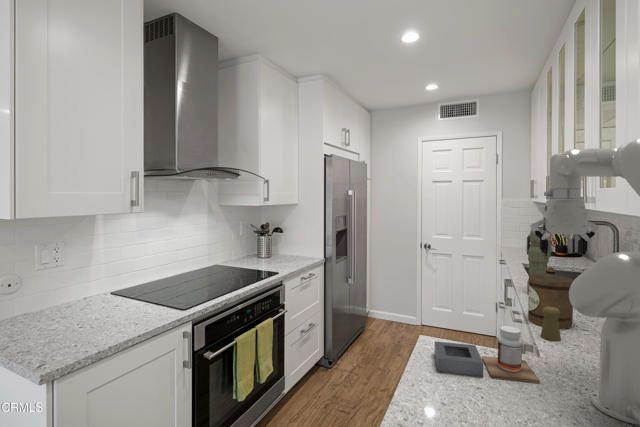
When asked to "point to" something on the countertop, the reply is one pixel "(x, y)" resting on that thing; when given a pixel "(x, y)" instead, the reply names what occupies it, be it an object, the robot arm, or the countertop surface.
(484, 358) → the brown pad
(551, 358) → the countertop surface
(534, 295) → the wooden container
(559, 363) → the countertop surface
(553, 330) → the cork
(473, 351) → the metal collar
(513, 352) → the pill bottle
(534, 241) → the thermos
